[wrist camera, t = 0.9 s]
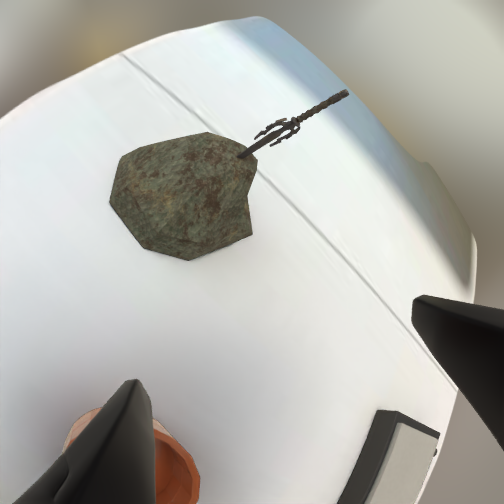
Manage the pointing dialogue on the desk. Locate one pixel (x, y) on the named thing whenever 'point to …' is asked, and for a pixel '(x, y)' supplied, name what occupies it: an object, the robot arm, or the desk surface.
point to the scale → (392, 461)
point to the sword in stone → (193, 189)
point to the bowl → (160, 464)
